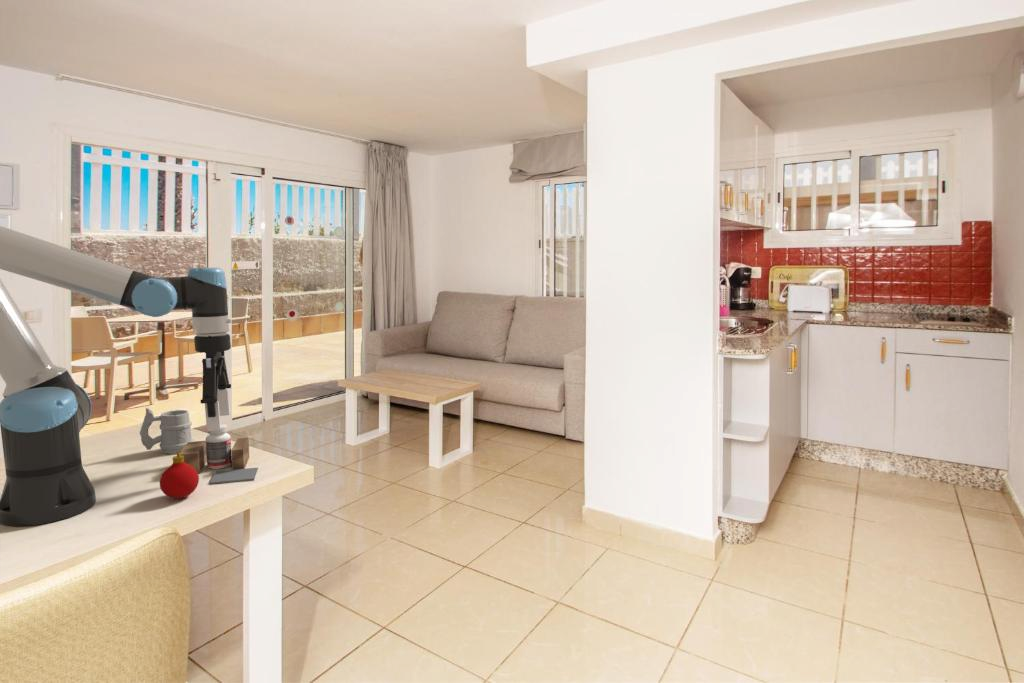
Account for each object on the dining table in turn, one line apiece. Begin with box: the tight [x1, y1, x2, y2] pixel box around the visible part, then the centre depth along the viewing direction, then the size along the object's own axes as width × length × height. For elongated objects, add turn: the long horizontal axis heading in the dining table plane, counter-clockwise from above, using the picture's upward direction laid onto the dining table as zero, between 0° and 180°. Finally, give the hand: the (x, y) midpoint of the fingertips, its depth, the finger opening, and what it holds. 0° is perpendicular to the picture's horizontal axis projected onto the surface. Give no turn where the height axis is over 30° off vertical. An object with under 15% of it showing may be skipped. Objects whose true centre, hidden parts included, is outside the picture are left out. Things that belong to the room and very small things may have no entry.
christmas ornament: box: [159, 451, 200, 499], centre depth 123 cm, size 7×7×10 cm
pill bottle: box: [205, 423, 232, 470], centre depth 142 cm, size 5×5×10 cm
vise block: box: [179, 437, 250, 475], centre depth 142 cm, size 14×10×5 cm
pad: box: [209, 467, 259, 485], centre depth 135 cm, size 9×8×1 cm
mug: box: [139, 407, 195, 455], centre depth 152 cm, size 8×12×12 cm, turn 125°
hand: (219, 422), depth 141 cm, fingers open, 13 cm apart
